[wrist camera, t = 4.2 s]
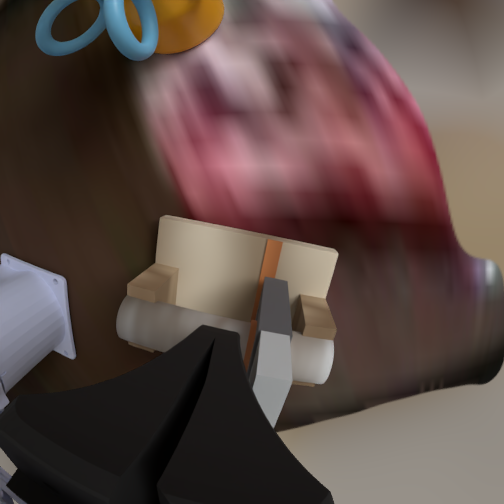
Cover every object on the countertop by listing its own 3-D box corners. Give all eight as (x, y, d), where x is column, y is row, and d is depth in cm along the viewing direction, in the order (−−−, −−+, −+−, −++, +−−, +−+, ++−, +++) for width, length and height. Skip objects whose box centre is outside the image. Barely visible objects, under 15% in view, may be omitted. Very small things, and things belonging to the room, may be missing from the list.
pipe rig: (157, 341, 18) (121, 393, 13) (166, 215, 16) (114, 235, 10) (295, 372, 18) (300, 435, 12) (334, 249, 16) (363, 287, 10)
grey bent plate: (246, 358, 16) (226, 466, 8) (264, 276, 14) (252, 374, 7) (265, 362, 16) (256, 470, 8) (287, 281, 14) (295, 381, 7)
